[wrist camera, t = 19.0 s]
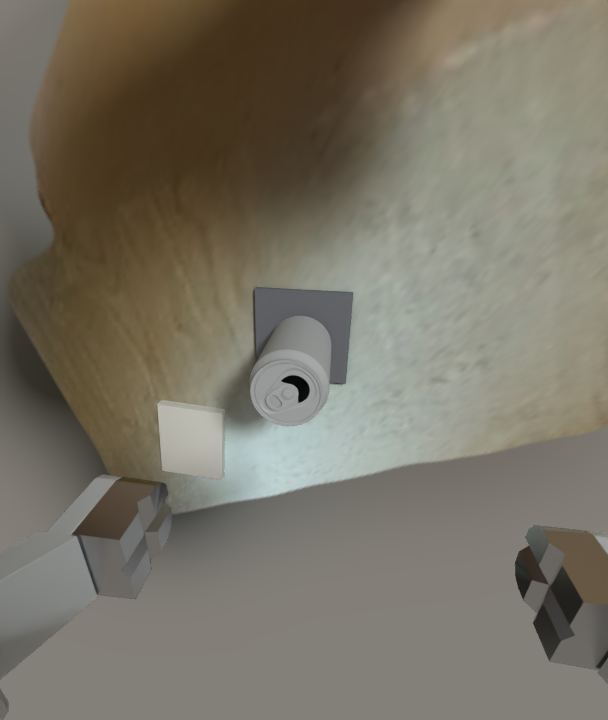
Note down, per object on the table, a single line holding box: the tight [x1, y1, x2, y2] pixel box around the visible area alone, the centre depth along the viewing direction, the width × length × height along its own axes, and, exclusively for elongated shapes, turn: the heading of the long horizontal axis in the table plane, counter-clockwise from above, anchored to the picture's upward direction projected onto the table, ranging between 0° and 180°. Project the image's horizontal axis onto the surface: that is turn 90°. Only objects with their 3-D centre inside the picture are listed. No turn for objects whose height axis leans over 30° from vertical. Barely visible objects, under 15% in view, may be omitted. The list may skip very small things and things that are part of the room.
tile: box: [157, 400, 225, 480], centre depth 45 cm, size 2×8×10 cm
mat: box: [255, 287, 353, 384], centre depth 38 cm, size 10×10×1 cm
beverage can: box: [249, 316, 331, 426], centre depth 33 cm, size 6×6×12 cm
